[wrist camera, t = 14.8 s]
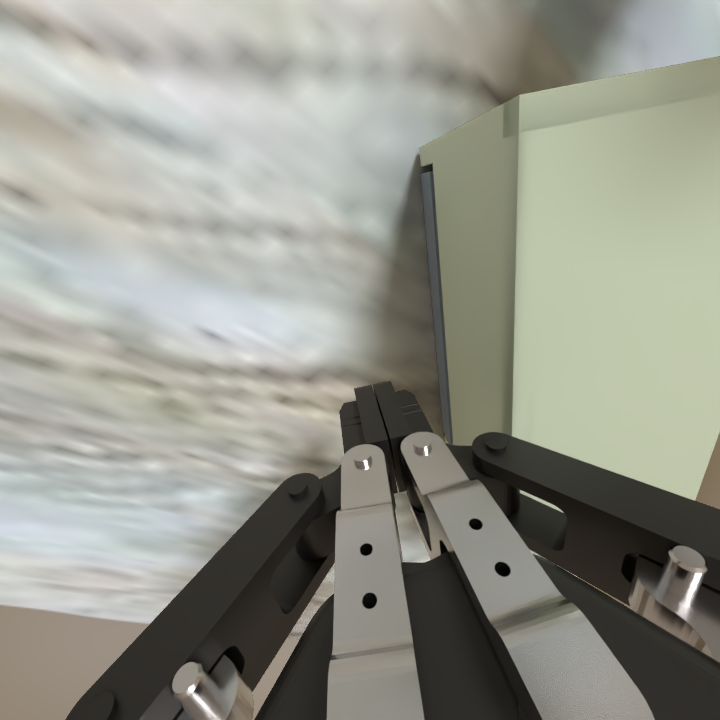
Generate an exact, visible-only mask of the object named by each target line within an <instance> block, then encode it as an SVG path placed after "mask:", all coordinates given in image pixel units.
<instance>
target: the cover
mask: <svg viewBox="0 0 720 720" xmlns="http://www.w3.org/2000/svg"><path fill="white" fill-rule="evenodd" d="M419 149H420V161H421V167H422V166H427V165H432V164H433V176H434V189H435V203H436V216H437V230H438V244H439V257H440V271H441V285H442V298H443V312H444V326H445V339H446V353H447V367H448V380H449V394H450V408H451V421H452V435H453V443H452V444H451V443H450V442H449V440H448V438H447V436H446V435H444V438H445V443H447V444H451V445H458V446H472V443H473V440H474V439H475V438H476V437H477V436H479V435H481V434H484V433H488V432H499V433H504V434H507V435H510V436H513V437H516V438H518V439H521V440H524V441H527V442H530V443H533V444H535V445H538V446H541V447H544V448H547V449H550V450H552V451H555V452H558V453H561V454H564V455H567V456H569V457H572V458H575V459H578V460H581V461H584V462H586V463H589V464H592V465H595V466H598V467H601V468H603V469H606V470H609V471H612V472H615V473H618V474H620V475H623V476H626V477H629V478H632V479H635V480H637V481H640V482H643V483H646V484H649V485H652V486H654V487H657V488H660V489H663V490H666V491H669V492H671V493H674V494H677V495H680V496H683V497H686V498H688V499H691V500H694V501H695V499H696V496H697V494H698V491H699V488H700V485H701V482H702V479H703V477H704V474H705V471H706V468H707V465H708V463H709V460H710V457H711V454H712V451H713V449H714V446H715V443H716V440H717V437H718V435H719V432H720V56H718V57H713V58H708V59H703V60H697V61H692V62H687V63H682V64H677V65H671V66H666V67H661V68H656V69H651V70H645V71H640V72H635V73H630V74H624V75H619V76H614V77H609V78H604V79H598V80H593V81H588V82H583V83H578V84H572V85H567V86H562V87H557V88H552V89H546V90H541V91H536V92H531V93H525V94H520V95H518V96H516V97H514V98H512V99H510V100H509V101H507V102H505V103H503V104H501V105H499V106H497V107H495V108H493V109H492V110H490V111H488V112H486V113H484V114H482V115H480V116H478V117H477V118H475V119H473V120H471V121H469V122H467V123H465V124H463V125H461V126H460V127H458V128H456V129H454V130H452V131H450V132H448V133H446V134H444V135H443V136H441V137H439V138H437V139H435V140H433V141H431V142H429V143H428V144H426V145H424V146H422V147H420V148H419ZM520 493H521V494H523V495H526V496H528V497H530V498H532V499H534V500H536V501H539V502H541V503H543V504H545V505H547V506H549V507H552V508H554V509H556V510H558V511H560V512H562V513H563V511H562V510H560V509H559V508H558V507H556V506H555V505H553V504H551V503H548V502H546V501H544V500H542V499H540V498H537V497H535V496H533V495H531V494H528V493H526V492H524V491H522V490H520ZM529 550H530V549H529ZM530 551H531V550H530ZM531 553H532V554H535V555H538V554H537V553H535V552H533V551H531ZM538 556H539V555H538Z"/></svg>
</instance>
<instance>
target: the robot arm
mask: <svg viewBox="0 0 720 720" xmlns="http://www.w3.org/2000/svg"><path fill="white" fill-rule="evenodd" d="M354 390H355V395H356V400H357V401H352V402H347V403H344V404H343V406H342V408H341V410H340V420H341V428H342V437H343V446H344V456H343V458H342V461H341V465H340V466H339V468H338V469H337V470H335V471H334V472H333V473H331V474H329V475H328V476H326V477H324V478H322V479H319V478H318V477H317V476H315V475H313V474H310V473H301V474H297V475H294V476H292V477H290V478H288V479H287V480H285V481H284V482H283V483H282V484H281V485H280V486H279V487H278V488H277V489H276V490H275V491H274V492H273V494H272V495H271V496H270V497H269V498H268V499H267V500H266V501H265V502H264V503H263V504H262V505H261V506H260V507H259V508H258V510H257V511H256V512H255V513H254V514H253V515H252V516H251V517H250V518H249V519H248V520H247V521H246V522H245V523H244V524H243V526H242V527H241V528H240V529H239V530H238V531H237V532H236V533H235V534H234V535H233V536H232V537H231V538H230V539H229V540H228V542H227V543H226V544H225V545H224V546H223V547H222V548H221V549H220V550H219V551H218V552H217V553H216V554H215V555H214V556H213V558H212V559H211V560H210V561H209V562H208V563H207V564H206V565H205V566H204V567H203V568H202V569H201V570H200V571H199V572H198V574H197V575H196V576H195V577H194V578H193V579H192V580H191V581H190V582H189V583H188V584H187V585H186V586H185V587H184V588H183V590H182V591H181V592H180V593H179V594H178V595H177V596H176V597H175V598H174V599H173V600H172V601H171V602H170V603H169V604H168V606H167V607H166V608H165V609H164V610H163V611H162V612H161V613H160V614H159V615H158V616H157V617H156V618H155V619H154V620H153V622H152V623H151V624H150V625H149V626H148V627H147V628H146V629H145V630H144V631H143V632H142V633H141V634H140V635H139V636H138V638H137V639H136V640H135V641H134V642H133V643H132V644H131V645H130V646H129V647H128V648H127V649H126V650H125V651H124V652H123V654H122V655H121V656H120V657H119V658H118V659H117V660H116V661H115V662H114V663H113V664H112V665H111V666H110V667H109V668H108V670H107V671H106V672H105V673H104V674H103V675H102V676H101V677H100V678H99V679H98V680H97V681H96V682H95V684H93V686H92V687H91V688H90V689H89V690H88V691H87V692H86V693H85V694H84V695H83V696H82V698H81V699H80V700H79V701H78V702H77V703H76V705H75V706H74V707H73V709H72V711H71V712H70V713H69V715H68V716H67V718H66V720H252V718H253V711H254V700H253V695H252V692H253V690H254V689H255V687H256V685H257V684H258V682H259V681H260V679H261V677H262V676H263V674H264V673H265V671H266V670H267V668H268V666H269V665H270V663H271V662H272V660H273V659H274V657H275V655H276V654H277V652H278V651H279V649H280V648H281V646H282V644H283V643H284V641H285V640H286V638H287V637H288V635H289V633H290V632H291V630H292V629H293V627H294V625H295V624H296V622H297V621H298V619H299V618H300V616H301V614H302V613H303V611H304V610H305V608H306V607H307V605H308V603H309V602H310V600H311V599H312V597H313V595H314V594H315V592H316V591H317V589H318V588H319V586H320V584H321V583H322V581H323V580H324V578H325V576H326V575H327V573H328V572H329V570H330V569H331V567H332V565H333V564H334V562H335V578H334V594H333V595H332V596H331V597H329V598H328V599H327V600H326V601H325V602H324V604H323V605H322V606H321V607H320V608H319V609H318V611H317V612H316V614H315V615H314V616H313V618H312V619H311V621H310V623H309V624H308V626H307V628H306V630H305V631H304V633H303V635H302V637H301V638H300V640H299V642H298V644H297V646H296V647H295V649H294V651H293V653H292V655H291V656H290V658H289V660H288V661H287V663H286V665H285V667H284V668H283V670H282V672H281V674H280V676H279V677H278V679H277V681H276V683H275V684H274V686H273V688H272V690H271V691H270V693H269V695H268V697H267V698H266V700H265V702H264V704H263V706H262V707H261V709H260V711H259V713H258V714H257V716H256V718H255V720H720V510H719V509H717V508H714V507H711V506H708V505H705V504H703V503H700V502H697V501H694V500H691V499H688V498H686V497H683V496H680V495H677V494H674V493H671V492H669V491H666V490H663V489H660V488H657V487H654V486H652V485H649V484H646V483H643V482H640V481H637V480H635V479H632V478H629V477H626V476H623V475H620V474H618V473H615V472H612V471H609V470H606V469H603V468H601V467H598V466H595V465H592V464H589V463H586V462H584V461H581V460H578V459H575V458H572V457H569V456H567V455H564V454H561V453H558V452H555V451H552V450H550V449H547V448H544V447H541V446H538V445H535V444H533V443H530V442H527V441H524V440H521V439H518V438H516V437H513V436H510V435H507V434H504V433H499V432H488V433H484V434H481V435H479V436H477V437H476V438H475V439H474V440H473V443H472V446H458V445H451V444H447V443H445V442H444V441H443V440H442V438H441V437H439V436H438V435H436V434H434V433H433V431H432V429H431V427H430V425H429V423H428V421H427V419H426V417H425V416H424V414H423V412H422V410H421V408H420V406H419V404H418V402H417V400H416V398H415V396H414V395H413V394H411V393H410V392H408V391H407V390H402V391H398V392H395V391H394V388H393V386H392V383H391V381H386V382H382V383H377V384H373V388H372V385H368V386H364V387H359V388H354ZM373 390H374V391H373ZM395 478H396V480H395ZM396 481H397V485H398V488H399V492H403V491H407V495H408V498H409V503H410V509H411V513H412V515H413V517H414V520H415V522H416V525H417V527H418V530H419V532H420V535H421V537H422V540H423V542H424V545H425V547H426V549H427V552H428V554H429V557H430V559H431V560H430V561H428V562H425V563H410V562H403V557H402V551H401V545H400V539H399V533H398V526H397V520H396V514H395V508H396V504H395V498H394V493H398V491H397V486H396ZM520 490H522V491H524V492H526V493H528V494H531V495H533V496H535V497H537V498H540V499H542V500H544V501H546V502H548V503H551V504H553V505H555V506H556V507H558V508H559V509H560V510H562V511H563V513H562V512H560V511H558V510H556V509H554V508H552V507H549V506H547V505H545V504H543V503H541V502H539V501H536V500H534V499H532V498H530V497H528V496H526V495H523V494H521V493H520ZM529 549H530V550H531V551H533V552H535V553H537V554H538V555H540V556H542V557H544V558H546V559H547V560H546V559H544V558H542V557H540V556H538V555H535V554H532V553H531V551H530V550H529ZM550 561H551V562H550ZM552 562H553V563H552ZM557 565H558V566H557ZM559 566H560V567H559ZM562 568H563V569H562ZM564 569H565V570H564ZM566 570H567V571H569V572H570V573H569V572H567V571H566ZM571 573H572V574H574V575H576V576H577V577H579V578H581V579H583V580H585V581H586V582H588V583H590V584H592V585H594V586H595V587H597V588H599V589H601V590H603V591H604V592H606V593H608V594H610V595H611V596H613V597H615V598H617V599H619V600H620V601H622V602H624V603H626V604H627V605H629V606H631V608H632V610H631V609H629V608H627V607H626V606H624V605H623V604H621V603H619V602H617V601H616V600H614V599H613V598H611V597H609V596H608V595H606V594H604V593H602V592H601V591H599V590H598V589H596V588H594V587H593V586H591V585H589V584H587V583H586V582H584V581H582V580H581V579H579V578H577V577H576V576H574V575H572V574H571Z"/></svg>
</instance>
